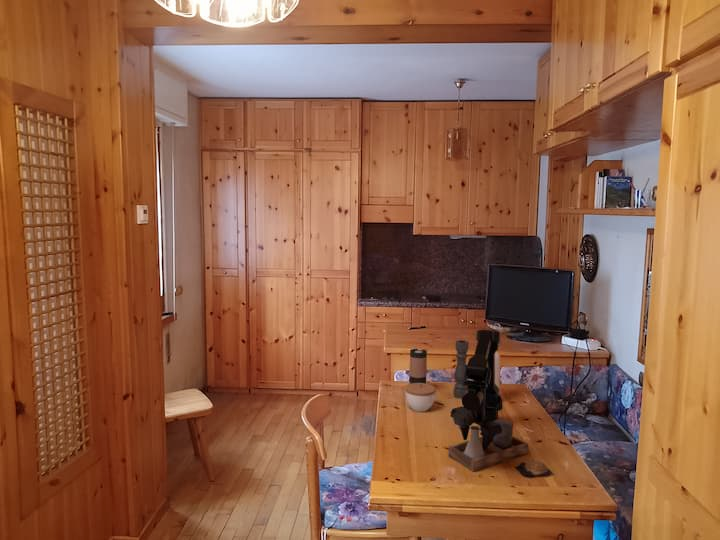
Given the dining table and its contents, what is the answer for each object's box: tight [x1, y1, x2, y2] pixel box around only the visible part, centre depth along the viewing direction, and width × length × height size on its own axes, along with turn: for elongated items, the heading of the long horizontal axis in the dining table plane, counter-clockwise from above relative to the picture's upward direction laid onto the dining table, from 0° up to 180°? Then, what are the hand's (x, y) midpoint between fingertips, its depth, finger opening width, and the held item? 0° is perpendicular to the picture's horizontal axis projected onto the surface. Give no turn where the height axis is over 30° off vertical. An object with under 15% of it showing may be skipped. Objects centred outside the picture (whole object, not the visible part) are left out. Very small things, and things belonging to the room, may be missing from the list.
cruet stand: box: [448, 418, 529, 473], centre depth 174 cm, size 25×12×10 cm, turn 121°
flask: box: [464, 425, 485, 459], centre depth 171 cm, size 7×7×10 cm
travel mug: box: [409, 348, 428, 384], centre depth 232 cm, size 8×8×20 cm
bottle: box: [495, 350, 501, 389], centre depth 223 cm, size 8×8×30 cm
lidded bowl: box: [404, 382, 436, 413], centre depth 215 cm, size 13×13×11 cm
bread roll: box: [514, 460, 555, 479], centre depth 164 cm, size 11×8×4 cm
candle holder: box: [453, 339, 470, 400], centre depth 229 cm, size 6×6×25 cm
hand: (474, 445), depth 171 cm, fingers open, 9 cm apart
